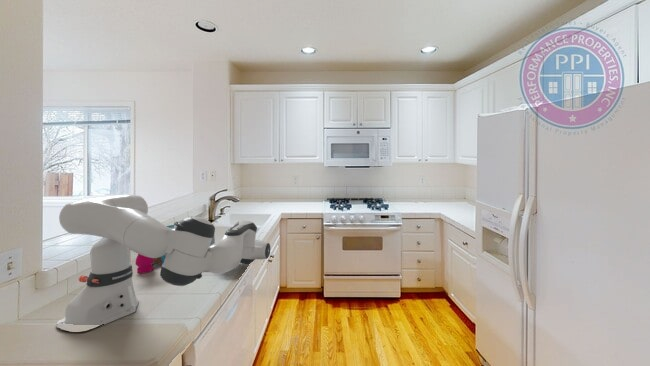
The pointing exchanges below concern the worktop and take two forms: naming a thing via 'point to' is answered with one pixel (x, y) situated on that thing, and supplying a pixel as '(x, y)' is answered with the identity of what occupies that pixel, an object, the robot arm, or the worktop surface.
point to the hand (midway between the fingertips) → (216, 245)
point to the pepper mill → (144, 264)
